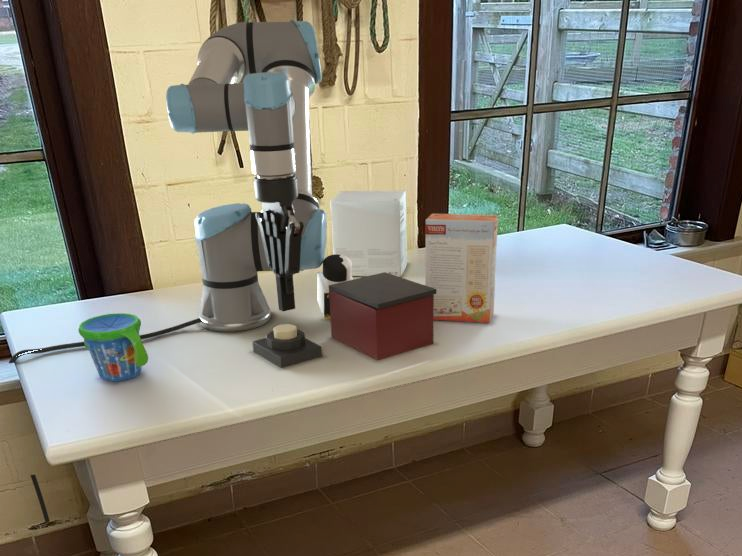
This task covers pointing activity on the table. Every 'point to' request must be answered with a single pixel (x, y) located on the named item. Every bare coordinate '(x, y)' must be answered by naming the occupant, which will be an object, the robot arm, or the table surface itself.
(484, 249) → the cracker box
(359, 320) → the dark red box
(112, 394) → the table surface
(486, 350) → the table surface
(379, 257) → the supplement box
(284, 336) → the button
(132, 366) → the snack cup
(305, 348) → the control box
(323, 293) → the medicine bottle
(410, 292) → the dark grey lid
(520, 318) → the table surface
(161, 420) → the table surface
